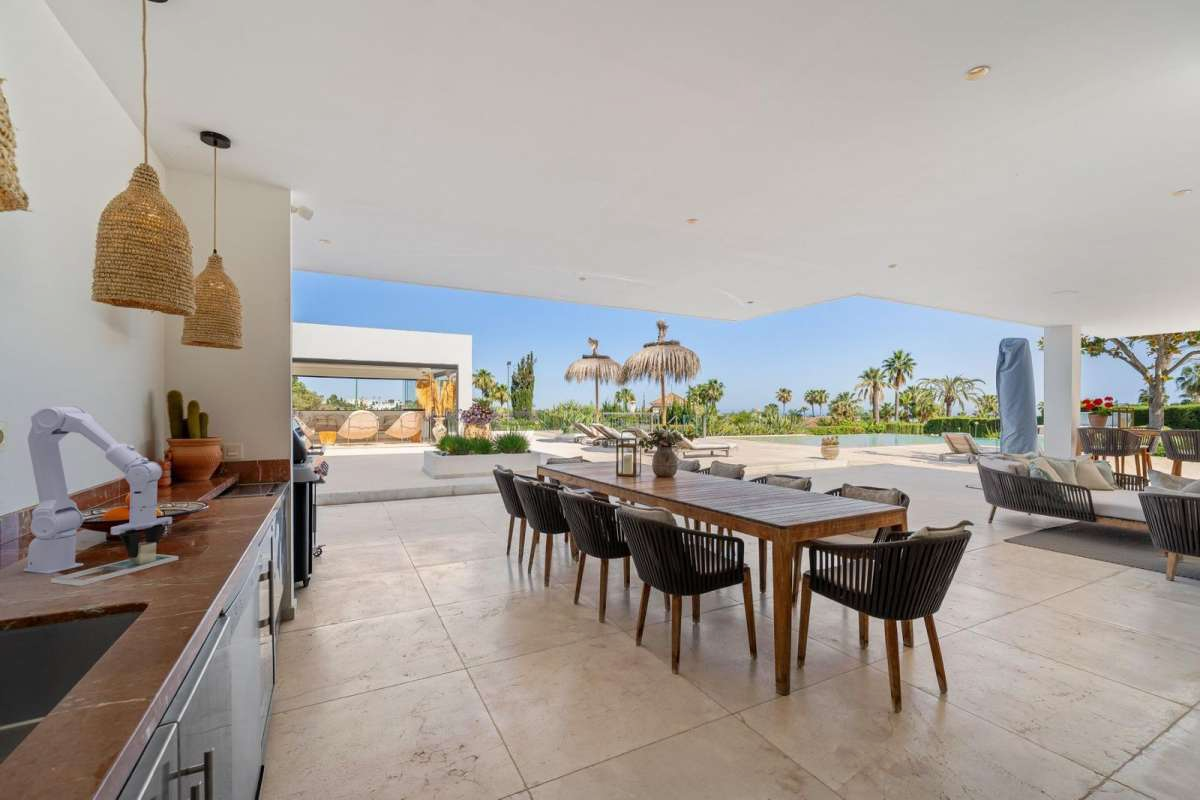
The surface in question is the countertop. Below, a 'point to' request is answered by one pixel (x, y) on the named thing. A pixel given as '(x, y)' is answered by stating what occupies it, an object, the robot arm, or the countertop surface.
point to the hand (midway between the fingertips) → (141, 555)
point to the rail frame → (119, 567)
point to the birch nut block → (145, 553)
